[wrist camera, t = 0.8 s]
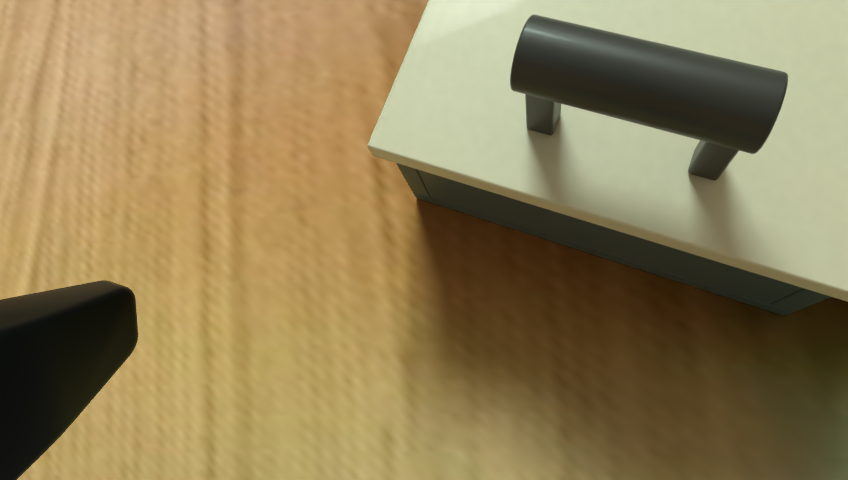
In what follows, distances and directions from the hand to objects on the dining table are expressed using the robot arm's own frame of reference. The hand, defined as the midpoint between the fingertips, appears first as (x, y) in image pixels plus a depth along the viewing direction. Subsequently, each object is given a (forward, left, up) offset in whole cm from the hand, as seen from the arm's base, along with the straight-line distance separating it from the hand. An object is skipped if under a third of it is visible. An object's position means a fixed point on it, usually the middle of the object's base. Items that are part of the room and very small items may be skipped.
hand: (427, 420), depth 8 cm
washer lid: (+11, +4, -8) cm, 14 cm away
